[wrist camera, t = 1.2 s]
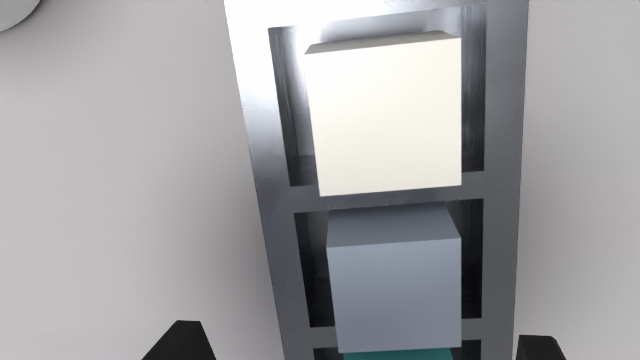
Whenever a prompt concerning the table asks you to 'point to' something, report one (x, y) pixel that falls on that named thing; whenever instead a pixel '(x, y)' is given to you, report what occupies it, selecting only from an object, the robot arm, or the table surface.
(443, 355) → the teal block
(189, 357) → the robot arm
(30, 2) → the pill bottle
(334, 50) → the ivory key
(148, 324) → the table surface
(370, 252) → the slate key
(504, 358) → the grey compartment tray
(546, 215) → the table surface
